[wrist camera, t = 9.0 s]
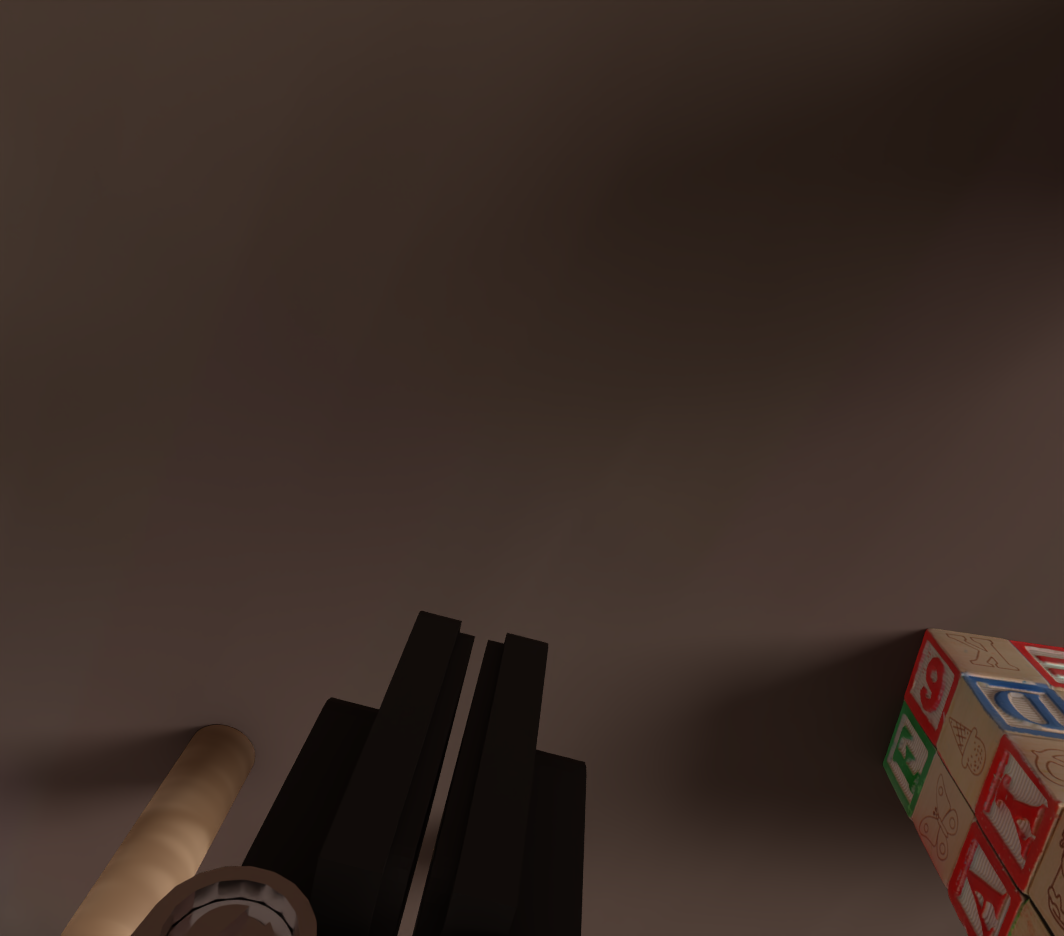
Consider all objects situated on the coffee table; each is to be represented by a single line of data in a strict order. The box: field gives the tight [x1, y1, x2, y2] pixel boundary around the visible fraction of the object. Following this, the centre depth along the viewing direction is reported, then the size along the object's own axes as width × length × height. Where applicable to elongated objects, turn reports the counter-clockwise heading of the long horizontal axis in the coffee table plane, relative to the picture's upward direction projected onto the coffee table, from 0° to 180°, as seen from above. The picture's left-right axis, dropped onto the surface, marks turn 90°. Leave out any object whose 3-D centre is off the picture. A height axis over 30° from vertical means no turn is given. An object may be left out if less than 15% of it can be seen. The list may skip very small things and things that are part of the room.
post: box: [61, 725, 255, 936], centre depth 29 cm, size 3×3×9 cm
